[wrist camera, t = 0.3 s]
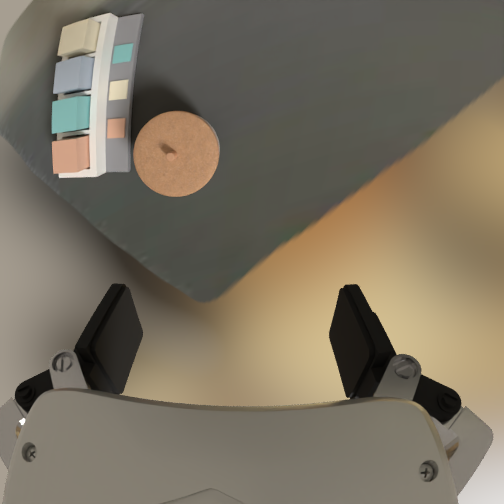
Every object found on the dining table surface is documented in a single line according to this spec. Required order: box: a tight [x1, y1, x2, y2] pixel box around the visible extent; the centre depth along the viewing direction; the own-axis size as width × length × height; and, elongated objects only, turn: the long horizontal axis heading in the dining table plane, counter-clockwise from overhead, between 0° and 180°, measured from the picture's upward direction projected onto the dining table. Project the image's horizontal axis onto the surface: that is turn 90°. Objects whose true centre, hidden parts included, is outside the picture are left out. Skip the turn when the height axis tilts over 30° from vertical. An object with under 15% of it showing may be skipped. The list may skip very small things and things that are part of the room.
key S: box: [53, 56, 95, 94], centre depth 25 cm, size 5×5×5 cm
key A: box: [52, 135, 90, 174], centre depth 31 cm, size 5×5×5 cm
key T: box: [52, 96, 91, 134], centre depth 28 cm, size 5×5×5 cm
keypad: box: [57, 13, 144, 178], centre depth 29 cm, size 26×12×4 cm, turn 174°
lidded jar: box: [133, 111, 220, 197], centre depth 32 cm, size 11×11×9 cm
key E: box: [57, 19, 101, 58], centre depth 22 cm, size 5×5×5 cm
